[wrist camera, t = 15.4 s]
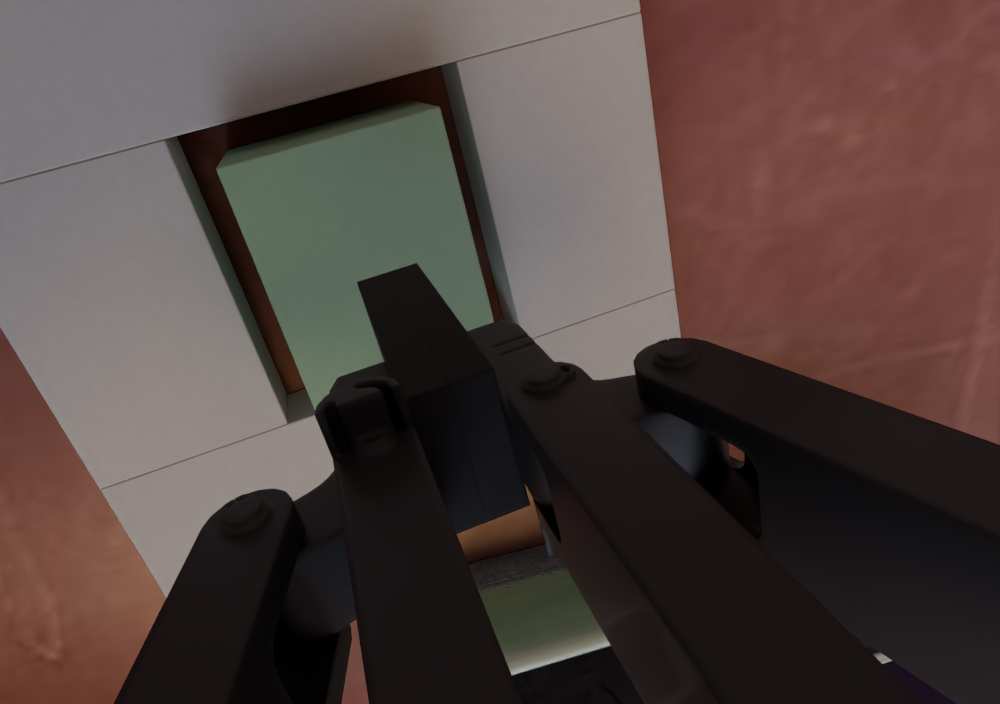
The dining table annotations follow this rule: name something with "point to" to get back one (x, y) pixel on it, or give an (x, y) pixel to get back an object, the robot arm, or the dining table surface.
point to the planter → (553, 632)
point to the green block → (353, 229)
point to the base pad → (201, 254)
